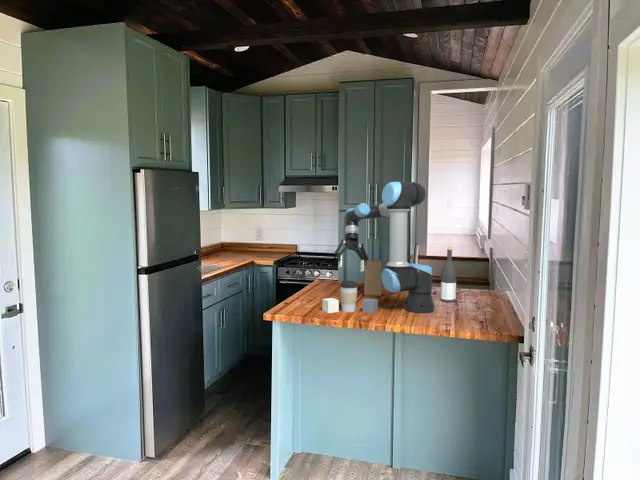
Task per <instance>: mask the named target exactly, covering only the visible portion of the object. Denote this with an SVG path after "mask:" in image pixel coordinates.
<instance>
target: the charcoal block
mask: <svg viewBox="0 0 640 480" xmlns="http://www.w3.org/2000/svg"><path fill="white" fill-rule="evenodd" d="M361 302H362V303H361V306H362V308H361V312H362V313H365V312H366V313H365V314H372V313H373V314H375V313H377V312H378V310H379V309H378V308H379V307H378V305H379V299H377V298H368V297H366V298H364V299H363V300H362V301H361Z"/></svg>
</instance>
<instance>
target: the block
mask: <svg viewBox="0 0 640 480" xmlns="http://www.w3.org/2000/svg"><path fill="white" fill-rule="evenodd" d="M382 271H383V262H382V259H375V258H374V259H373V258H372V259H371V258H370V259H369V258H368V260H367V261H365V266H364V271H363V272H364V274H363V275H364V276H363V294H364V296H366V297H367V296H368V297H369V296H370V297H381V296H382V285H383V283H382V279H381V274H382Z"/></svg>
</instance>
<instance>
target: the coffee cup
mask: <svg viewBox="0 0 640 480" xmlns="http://www.w3.org/2000/svg"><path fill="white" fill-rule="evenodd" d="M358 287H359V286H358V284H357V283H356V281H354V280H342V282H341V283H340V284H339V288H340V291H339V293H340V304H341V311H342V312H344V313H355V312H356V305H357V297H358Z"/></svg>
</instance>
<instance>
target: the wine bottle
mask: <svg viewBox="0 0 640 480" xmlns="http://www.w3.org/2000/svg"><path fill="white" fill-rule="evenodd" d="M446 252H447V253H446V262H445V264H444V265H443V267H442V270H441V274H440V295H439V296H440V301H441V303H442V302H443V303H447V304H448V303H455V302H456V292H457V291H456V290H457V271H456V267H455V265H454V263H453V262H452V261H453V257H452V256H453V247H452V246H447V250H446Z"/></svg>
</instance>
